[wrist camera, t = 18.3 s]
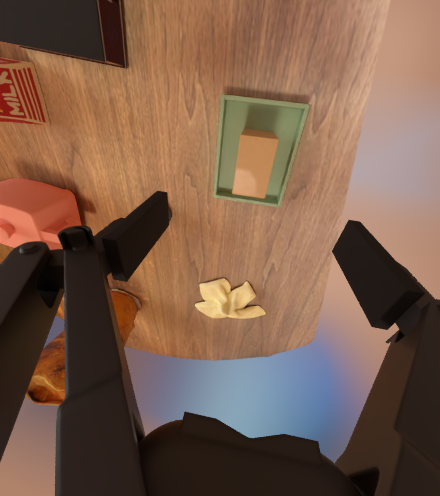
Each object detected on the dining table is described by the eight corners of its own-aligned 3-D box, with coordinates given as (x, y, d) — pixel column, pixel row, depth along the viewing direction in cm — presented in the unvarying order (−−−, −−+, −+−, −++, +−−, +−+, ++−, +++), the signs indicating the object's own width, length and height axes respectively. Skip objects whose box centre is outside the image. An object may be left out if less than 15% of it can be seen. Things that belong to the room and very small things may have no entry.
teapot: (22, 213, 53) (-43, 243, 41) (2, 165, 45) (-83, 184, 34) (102, 236, 53) (60, 271, 42) (96, 191, 46) (42, 219, 34)
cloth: (195, 313, 67) (190, 330, 62) (194, 272, 56) (188, 288, 51) (262, 325, 65) (262, 343, 60) (274, 285, 54) (276, 303, 49)
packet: (273, 131, 33) (279, 139, 25) (263, 179, 38) (264, 198, 30) (244, 128, 34) (240, 134, 26) (237, 176, 38) (232, 194, 30)
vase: (162, 297, 65) (105, 412, 40) (142, 324, 76) (89, 427, 51) (99, 266, 60) (-6, 372, 36) (88, 299, 71) (2, 398, 47)
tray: (306, 104, 31) (310, 104, 29) (278, 201, 41) (280, 207, 38) (223, 95, 32) (221, 93, 30) (215, 192, 42) (212, 197, 39)
